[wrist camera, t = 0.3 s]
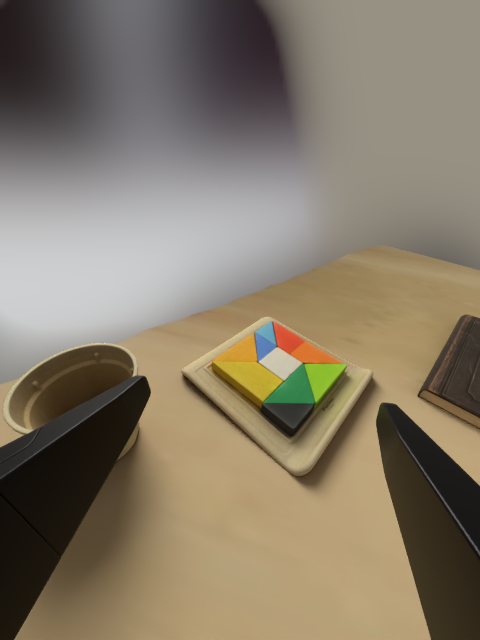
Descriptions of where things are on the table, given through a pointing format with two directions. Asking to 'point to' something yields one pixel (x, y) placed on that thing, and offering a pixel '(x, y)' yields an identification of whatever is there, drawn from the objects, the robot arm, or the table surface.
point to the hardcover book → (458, 373)
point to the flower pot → (68, 385)
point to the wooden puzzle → (281, 390)
